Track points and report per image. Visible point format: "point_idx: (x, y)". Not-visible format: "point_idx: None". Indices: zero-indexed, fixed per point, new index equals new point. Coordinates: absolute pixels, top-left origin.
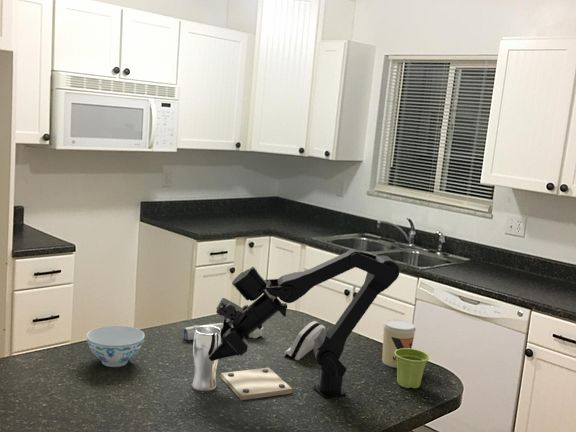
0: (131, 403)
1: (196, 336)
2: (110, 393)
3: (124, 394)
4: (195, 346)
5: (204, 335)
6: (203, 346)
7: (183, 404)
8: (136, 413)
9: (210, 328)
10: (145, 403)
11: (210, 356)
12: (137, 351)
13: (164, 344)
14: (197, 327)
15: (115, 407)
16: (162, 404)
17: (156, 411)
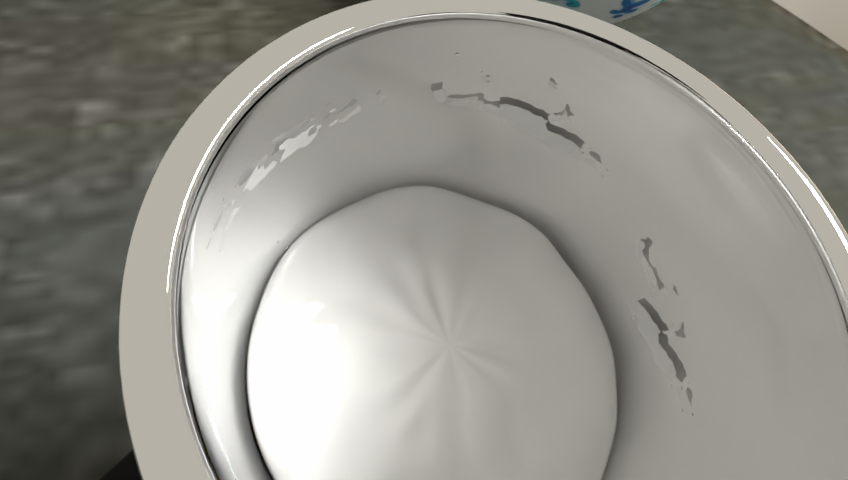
0: (132, 75)
1: (331, 94)
2: (241, 4)
3: (234, 46)
4: (322, 193)
5: (167, 193)
6: (227, 293)
7: (100, 311)
8: (5, 101)
9: (797, 305)
10: (128, 127)
11: (126, 456)
12: (563, 6)
13: (797, 146)
14: (604, 28)
15: (90, 25)
16: (109, 201)
17: (15, 182)
